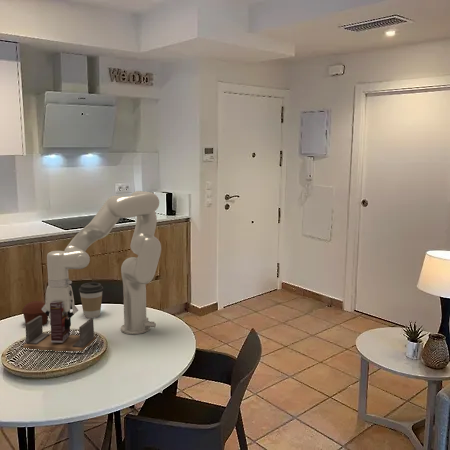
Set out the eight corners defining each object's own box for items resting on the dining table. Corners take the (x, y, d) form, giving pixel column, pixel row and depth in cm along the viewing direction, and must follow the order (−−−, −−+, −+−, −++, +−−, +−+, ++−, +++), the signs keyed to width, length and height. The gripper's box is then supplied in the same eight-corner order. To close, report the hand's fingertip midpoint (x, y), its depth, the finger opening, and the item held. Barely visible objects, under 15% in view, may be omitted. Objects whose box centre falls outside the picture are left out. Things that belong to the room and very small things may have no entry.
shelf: (96, 341, 191) (95, 317, 190) (82, 354, 179) (81, 328, 177) (41, 337, 195) (40, 314, 194) (23, 350, 182) (22, 325, 181)
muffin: (55, 321, 214) (54, 300, 213) (36, 329, 204) (35, 307, 203) (36, 318, 219) (35, 297, 218) (16, 325, 209) (15, 303, 208)
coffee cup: (109, 314, 224) (108, 284, 222) (91, 321, 215) (90, 289, 213) (92, 310, 230) (91, 280, 228) (74, 317, 221) (73, 285, 219)
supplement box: (63, 343, 182) (61, 303, 180) (50, 343, 182) (48, 303, 180) (71, 334, 191) (69, 296, 188) (59, 334, 191) (57, 296, 189)
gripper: (83, 281, 186) (85, 325, 188) (43, 279, 188) (45, 323, 191) (74, 286, 178) (76, 332, 181) (32, 284, 181) (35, 330, 183)
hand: (60, 327), depth 186 cm, fingers closed on supplement box, 5 cm apart
